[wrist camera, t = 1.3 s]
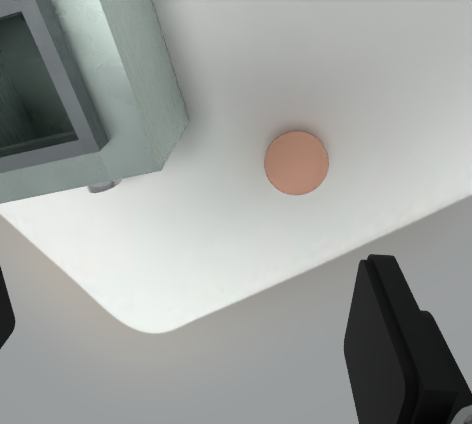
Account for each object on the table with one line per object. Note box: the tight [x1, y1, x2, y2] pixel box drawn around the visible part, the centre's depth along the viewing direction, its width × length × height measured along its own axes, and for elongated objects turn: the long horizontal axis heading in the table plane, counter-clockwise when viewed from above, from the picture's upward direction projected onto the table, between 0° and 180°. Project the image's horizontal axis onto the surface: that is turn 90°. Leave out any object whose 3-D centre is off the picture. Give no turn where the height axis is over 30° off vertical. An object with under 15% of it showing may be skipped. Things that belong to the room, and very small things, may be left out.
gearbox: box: [0, 0, 189, 204], centre depth 25 cm, size 12×14×10 cm
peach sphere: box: [264, 131, 329, 195], centre depth 30 cm, size 4×4×4 cm
